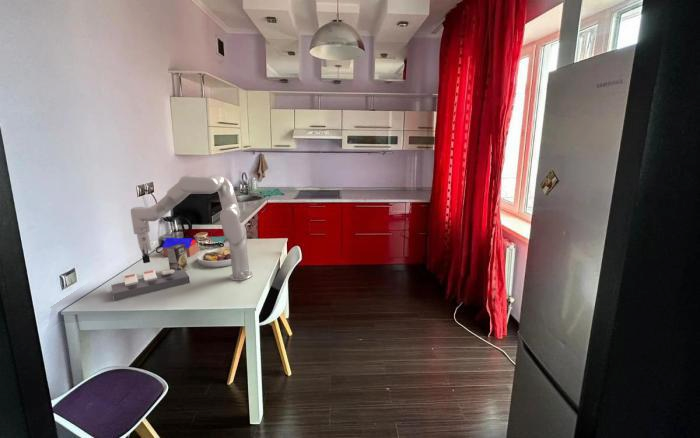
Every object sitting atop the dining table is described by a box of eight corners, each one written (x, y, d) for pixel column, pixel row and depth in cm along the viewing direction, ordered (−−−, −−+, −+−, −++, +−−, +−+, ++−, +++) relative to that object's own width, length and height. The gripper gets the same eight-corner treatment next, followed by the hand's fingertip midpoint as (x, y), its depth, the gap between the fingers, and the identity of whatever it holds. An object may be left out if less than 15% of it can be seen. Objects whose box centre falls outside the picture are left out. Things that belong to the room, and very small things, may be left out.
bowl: (191, 261, 243) (190, 249, 241) (234, 250, 262) (233, 240, 261) (209, 272, 221) (207, 260, 219) (255, 260, 240) (253, 248, 239)
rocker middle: (157, 280, 201) (157, 277, 200) (145, 283, 198) (144, 280, 197) (154, 273, 207) (154, 269, 206) (142, 275, 204) (142, 272, 203)
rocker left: (138, 284, 196) (138, 281, 195) (125, 287, 193) (125, 284, 192) (136, 276, 202) (136, 273, 201) (123, 279, 199) (123, 276, 198)
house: (173, 251, 265) (171, 235, 263) (199, 251, 262) (197, 235, 260) (163, 256, 254) (160, 240, 251) (190, 257, 251) (188, 240, 248)
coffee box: (179, 274, 219) (175, 248, 215) (170, 274, 220) (166, 248, 216) (189, 269, 227) (185, 244, 224) (179, 268, 229) (176, 243, 225)
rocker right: (175, 273, 205) (174, 269, 205) (163, 276, 202) (162, 272, 202) (173, 272, 212) (172, 269, 212) (161, 275, 209) (160, 271, 209)
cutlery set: (230, 237, 295) (229, 235, 295) (221, 249, 266) (220, 246, 266) (204, 239, 294) (204, 236, 293) (192, 251, 265) (192, 248, 264)
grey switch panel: (190, 283, 206) (189, 275, 205) (114, 301, 186) (112, 293, 185) (184, 275, 217) (183, 268, 216) (112, 291, 197) (111, 284, 196)
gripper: (151, 231, 195) (156, 264, 199) (147, 226, 207) (152, 257, 211) (135, 234, 191) (140, 267, 195) (132, 228, 203) (137, 260, 207)
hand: (146, 262), depth 203 cm, fingers closed
